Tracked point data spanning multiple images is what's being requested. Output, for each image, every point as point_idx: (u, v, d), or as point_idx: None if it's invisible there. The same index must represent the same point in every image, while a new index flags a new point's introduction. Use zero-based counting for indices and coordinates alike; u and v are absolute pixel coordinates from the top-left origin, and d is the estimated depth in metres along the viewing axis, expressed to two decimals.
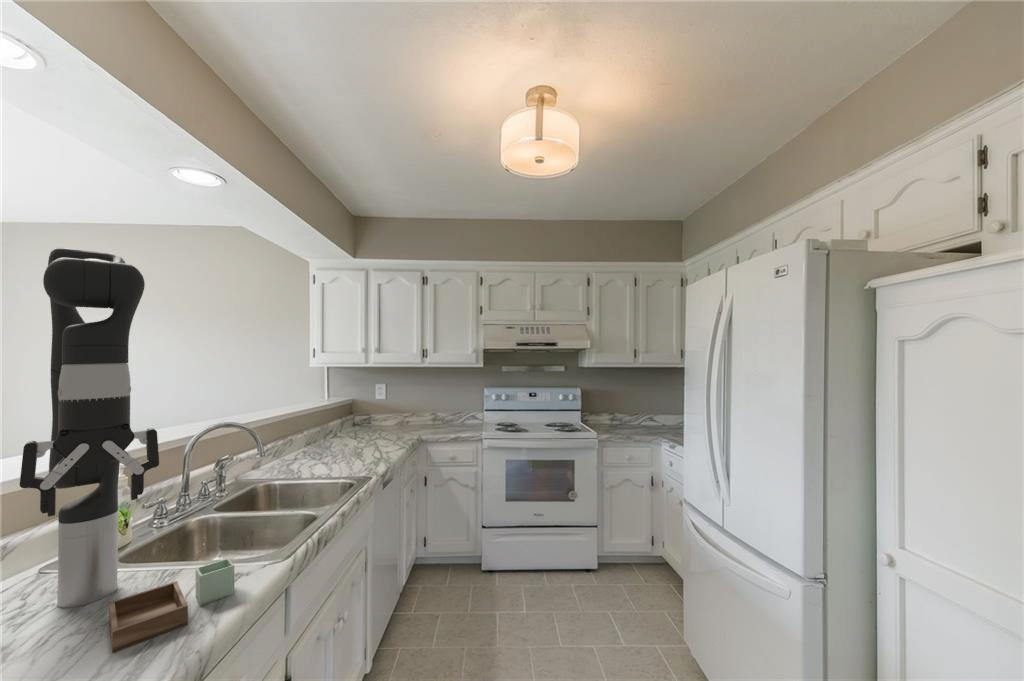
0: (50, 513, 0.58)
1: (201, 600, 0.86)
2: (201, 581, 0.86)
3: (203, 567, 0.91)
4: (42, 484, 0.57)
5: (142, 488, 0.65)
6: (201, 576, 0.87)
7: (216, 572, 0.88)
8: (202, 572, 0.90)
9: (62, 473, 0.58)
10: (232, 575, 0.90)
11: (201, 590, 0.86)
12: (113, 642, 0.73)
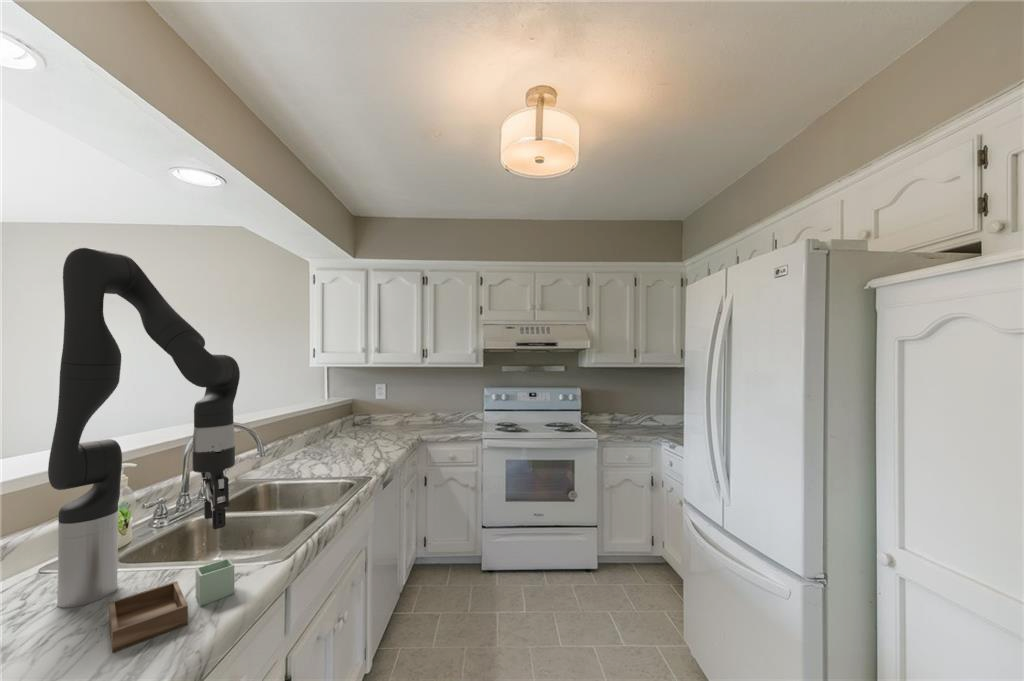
0: None
1: (201, 600, 0.86)
2: (201, 581, 0.86)
3: (203, 567, 0.91)
4: None
5: None
6: (201, 576, 0.87)
7: (216, 572, 0.88)
8: (202, 572, 0.90)
9: None
10: (232, 575, 0.90)
11: (201, 590, 0.86)
12: (113, 642, 0.73)
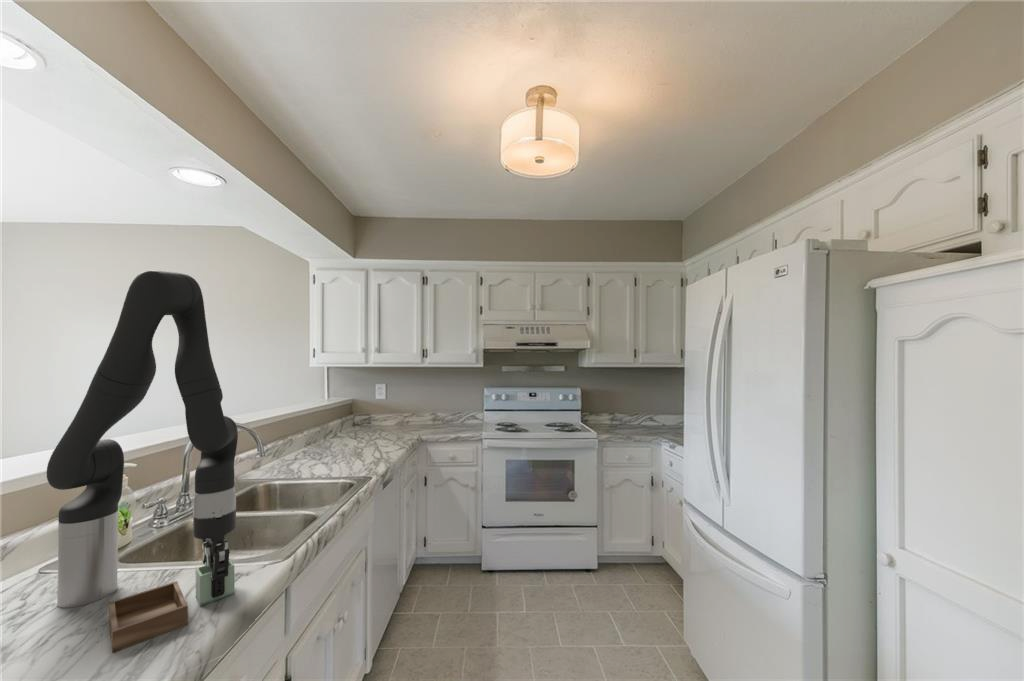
0: None
1: (201, 600, 0.86)
2: (201, 581, 0.87)
3: (203, 567, 0.91)
4: None
5: None
6: (201, 576, 0.87)
7: None
8: (202, 572, 0.90)
9: None
10: (232, 575, 0.90)
11: (201, 590, 0.86)
12: (113, 642, 0.73)
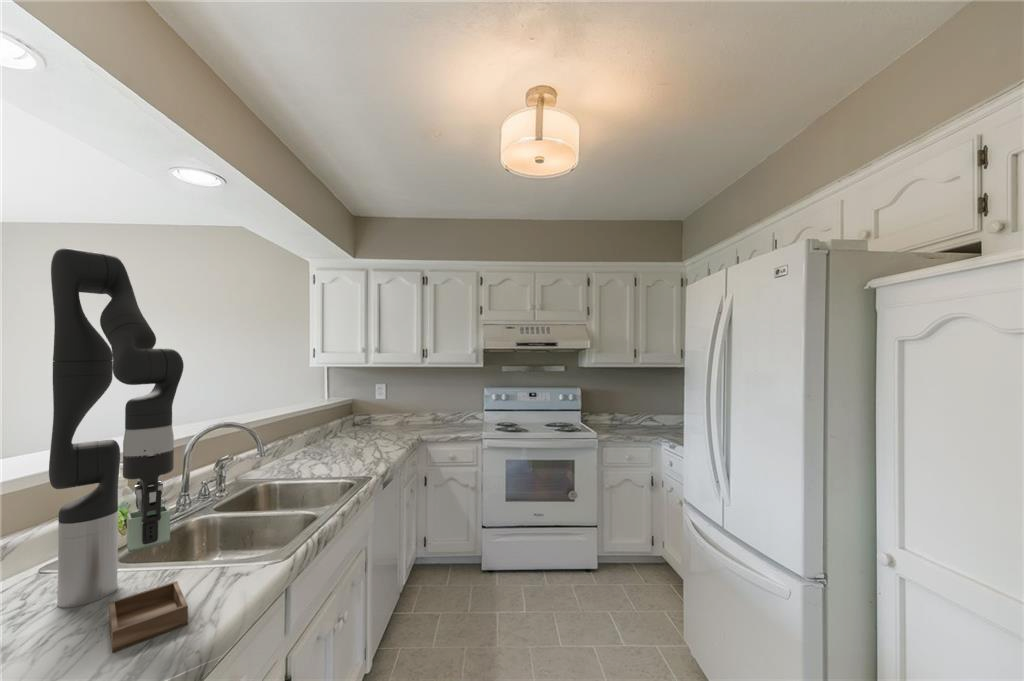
0: None
1: (130, 546, 0.78)
2: (130, 525, 0.78)
3: (136, 512, 0.82)
4: None
5: None
6: (130, 520, 0.78)
7: None
8: (134, 518, 0.82)
9: None
10: (167, 521, 0.82)
11: (130, 535, 0.78)
12: (113, 642, 0.73)
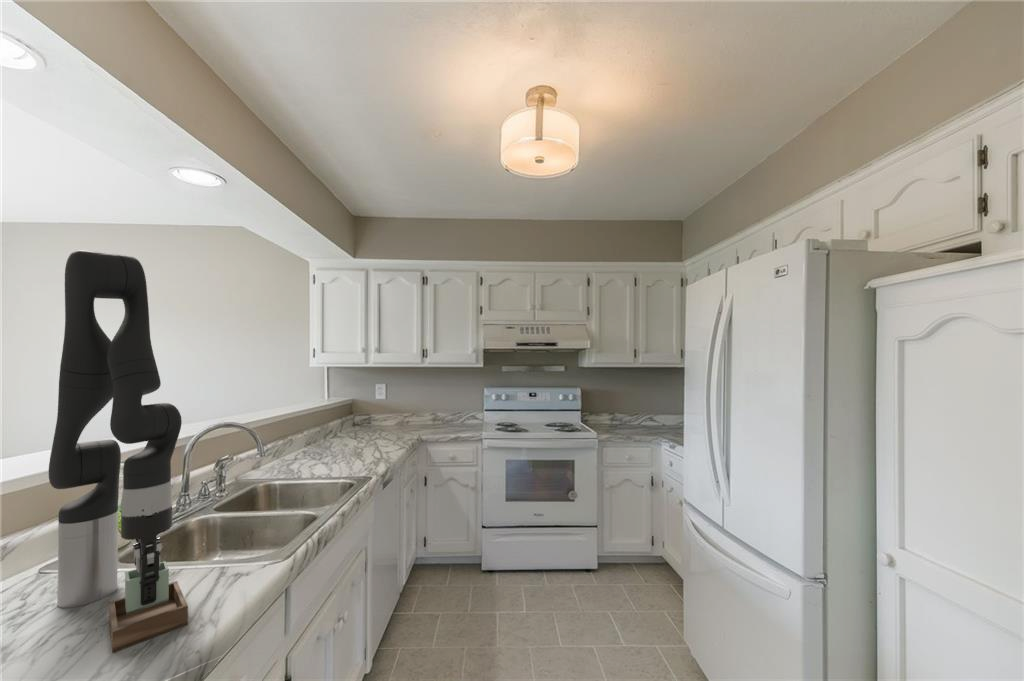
0: None
1: (128, 608, 0.77)
2: (128, 587, 0.77)
3: (134, 571, 0.82)
4: None
5: None
6: (128, 581, 0.78)
7: None
8: (133, 577, 0.81)
9: (159, 565, 0.81)
10: (166, 580, 0.81)
11: (128, 597, 0.77)
12: (113, 642, 0.73)
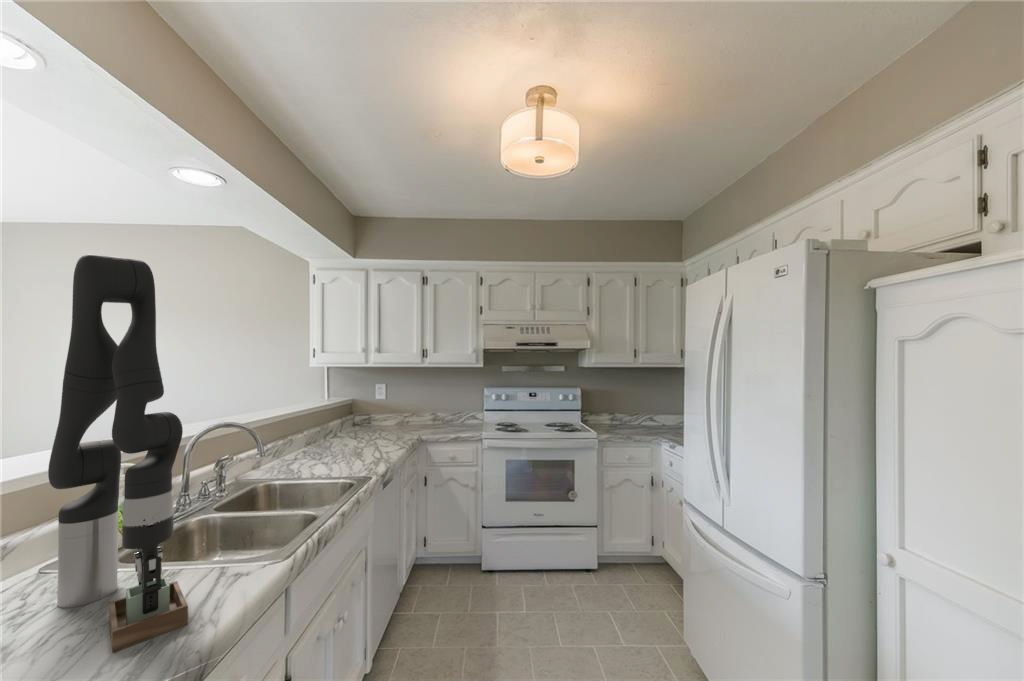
0: None
1: None
2: (129, 604, 0.78)
3: (135, 588, 0.82)
4: None
5: None
6: (129, 599, 0.78)
7: None
8: (134, 593, 0.81)
9: (160, 574, 0.81)
10: (167, 597, 0.81)
11: (129, 614, 0.78)
12: (113, 642, 0.73)
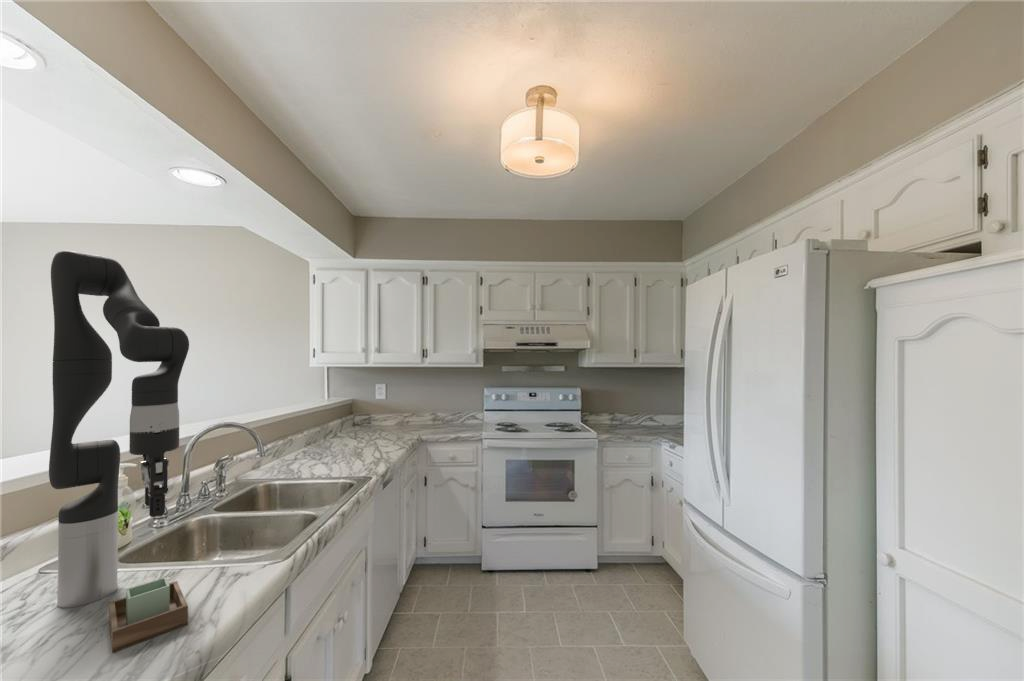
0: None
1: None
2: (129, 604, 0.78)
3: (135, 588, 0.82)
4: None
5: None
6: (129, 599, 0.78)
7: (147, 594, 0.79)
8: (134, 593, 0.81)
9: (167, 481, 0.82)
10: (167, 597, 0.81)
11: (129, 614, 0.78)
12: (113, 642, 0.73)
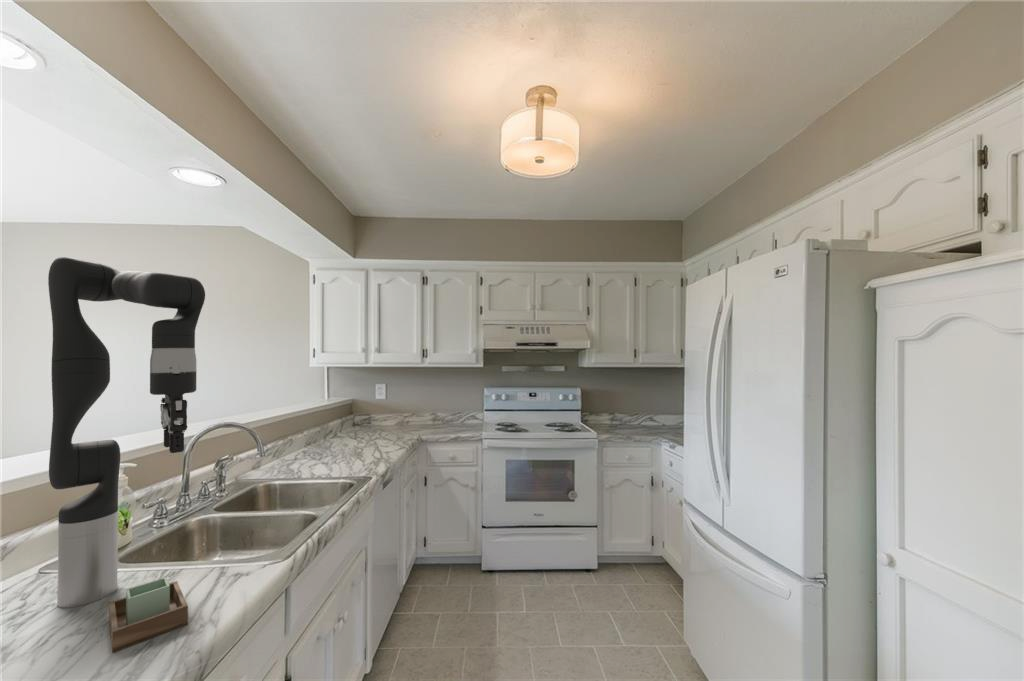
0: None
1: None
2: (129, 604, 0.78)
3: (135, 588, 0.82)
4: None
5: None
6: (129, 599, 0.78)
7: (147, 594, 0.79)
8: (134, 593, 0.81)
9: None
10: (167, 597, 0.81)
11: (129, 614, 0.78)
12: (113, 642, 0.73)
